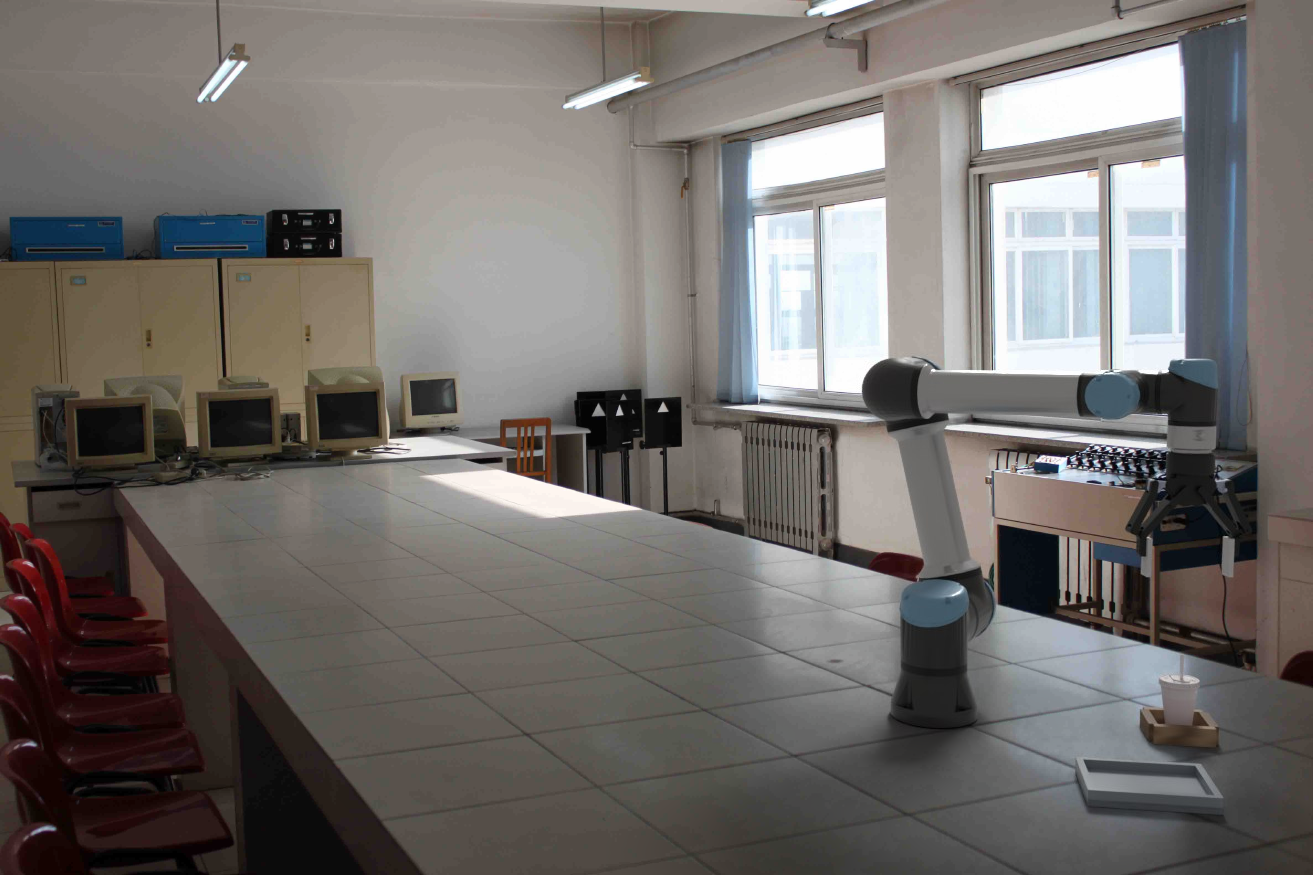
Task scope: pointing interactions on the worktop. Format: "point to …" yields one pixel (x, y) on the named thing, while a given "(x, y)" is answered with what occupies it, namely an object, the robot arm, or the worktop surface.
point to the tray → (1148, 785)
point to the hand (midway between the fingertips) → (1186, 575)
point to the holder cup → (1179, 729)
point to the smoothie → (1179, 696)
